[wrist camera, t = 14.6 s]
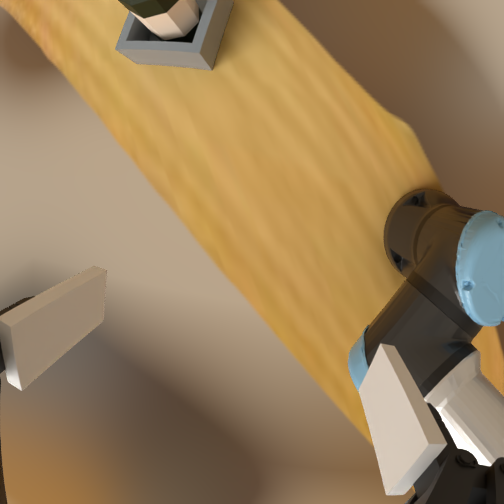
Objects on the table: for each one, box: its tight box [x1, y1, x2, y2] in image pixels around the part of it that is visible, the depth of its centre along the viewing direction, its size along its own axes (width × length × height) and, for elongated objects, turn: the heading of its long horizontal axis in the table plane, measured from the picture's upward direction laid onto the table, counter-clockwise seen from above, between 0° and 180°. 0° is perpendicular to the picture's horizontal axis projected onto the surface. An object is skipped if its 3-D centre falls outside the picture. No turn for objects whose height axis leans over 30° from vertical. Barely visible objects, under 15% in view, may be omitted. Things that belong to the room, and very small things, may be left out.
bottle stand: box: [115, 0, 234, 70], centre depth 40 cm, size 14×14×8 cm
